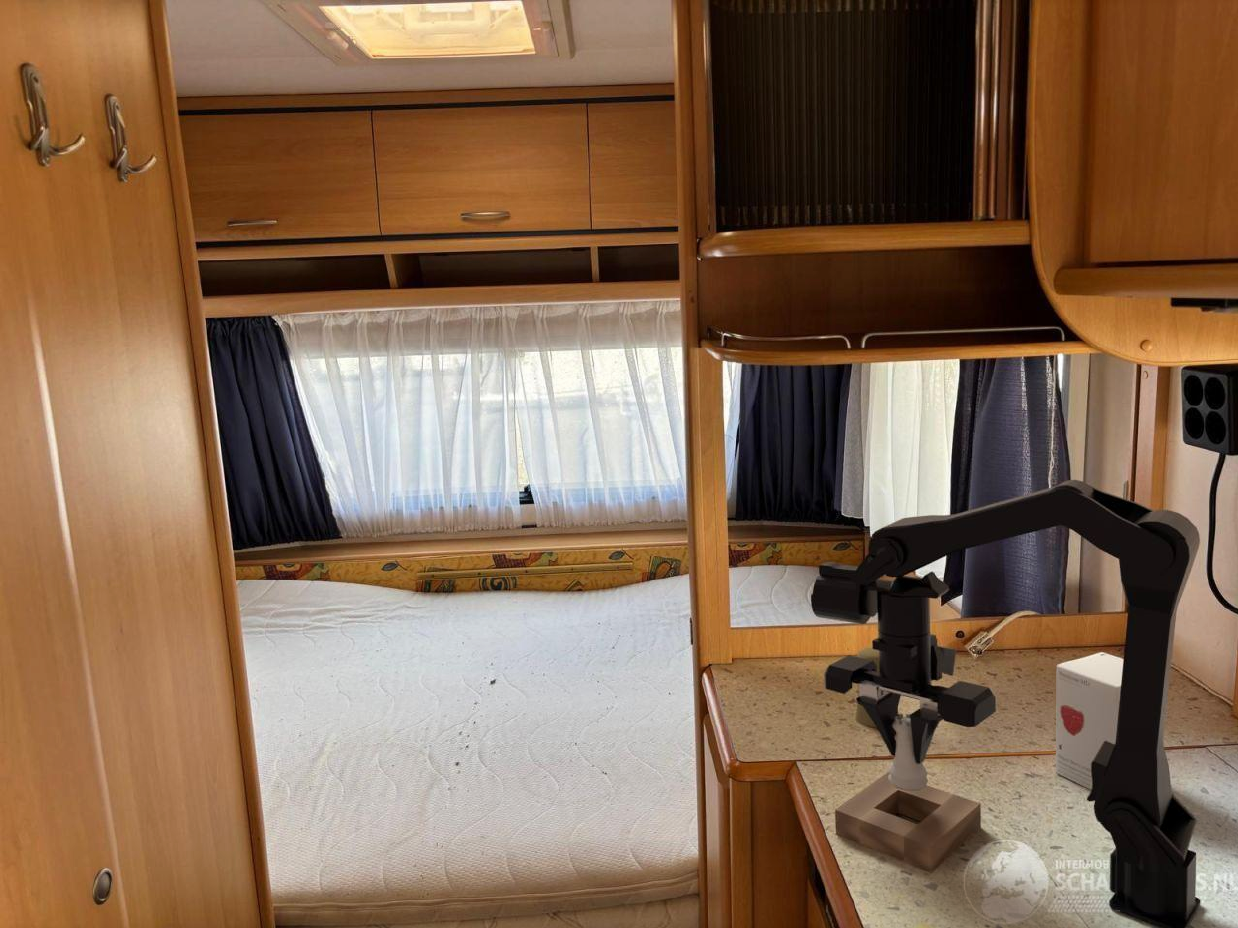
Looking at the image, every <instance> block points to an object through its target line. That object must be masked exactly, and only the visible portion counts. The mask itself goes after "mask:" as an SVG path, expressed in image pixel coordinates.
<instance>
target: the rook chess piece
mask: <svg viewBox="0 0 1238 928" xmlns="http://www.w3.org/2000/svg"><path fill="white" fill-rule="evenodd" d="M910 714H911V713H906V714H905V717H904V714H903V713H898V716H895V721H894V722H893V724H892V726H893V728H894V729H895V731H896V735H895V737H894V738H895V740H896V752H895V756H894V758H893V759H892V761H891V764H890V765H889V767H888V770H887V771H888V772H889V773H890V774H889V776H888V779H889V781H890V782H891V784H892V785H893V786H895V787H896V788H898V789H901V790H906V791H917V790H921V789H922V788H924V787H925V786H926V785H928V783H929V780H928V777H927V775H928V771H927V769H926V767H925V766H924V762H922V763H921V764H917V763H916V760H915V756H914V750H913V740H912V730H911V721H910Z"/></svg>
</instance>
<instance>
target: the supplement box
mask: <svg viewBox="0 0 1238 928" xmlns="http://www.w3.org/2000/svg"><path fill="white" fill-rule="evenodd" d="M1123 660H1124V658H1121V657H1118V656H1116V655H1112V654H1109V653H1106V652H1104V651H1103V652H1102V651H1101V652H1097V653H1094V654H1091V655H1087V656H1084V657H1081V658H1077V659H1073V660H1069V661H1064V662H1062V663H1059V664H1056V701H1055V702H1056V703H1055V704H1056V707H1055V708H1056V709H1055V710H1056V713H1055V714H1056V717H1055V718H1056V719H1055V721H1056V722H1055V723H1056V724H1055V726H1056V727H1055V728H1056V729H1055V732H1056V733H1055V774H1058V775H1059V776H1062V777H1064V778H1066V779H1068V780H1069V781H1072V782H1074V783H1076V784H1078V785H1081V786H1082V787H1084V788H1086V789H1089V790H1090V791H1091V790H1092V775H1091V763H1092V761H1093V759H1094V757H1095V756H1096V754H1097V752H1098V751H1099V749H1100V747H1101V746H1102V744H1103V742H1104V741H1107V742H1110V743H1112V744H1115V742H1116V732H1117V722H1118V712H1119V701H1120V691H1121V681H1122V670H1123ZM1164 735H1165V733H1164V734H1163V745H1164V740H1165V739H1164V737H1165V736H1164ZM1164 746H1165V745H1164Z"/></svg>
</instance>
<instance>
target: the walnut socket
mask: <svg viewBox="0 0 1238 928" xmlns="http://www.w3.org/2000/svg"><path fill="white" fill-rule="evenodd" d="M889 774H890V773H889V771H888V772H886V773H884V774H883V775H882V776H880V777H878V779H876V780H875V781H873V782H872V783H870V784H869V785H868V786H866V787H865V788H863V789H861V790H860V791H859V792H858V793H856V794H855V795H853V796H852V797H851V798H849V799H847V800H846V801H845V802H844V803H842V804H841V805H839V806H838V807H837V808H835V809H834V817H835V819H834V821H835V822H834V823H835V824H834V825H835V835H838V836H841V837H843V838H846V839H847V840H848V839H849V840H851V841H853V842H855V843H859V844H861V845H863V846H865V847H868V848H870V849H873V850H875V851H878V852H880V853H882V854H884V855H887V856H890V857H892V858H893V859H897V860H900V861H901V862H904V863H907V864H909V865H911V866H914V867H916V868H919V869H921V870H923V871H926V872H929V873H933V872H934V871H935V870H936V869H937V868H939V866H940V865H942V864H943V863H944V862H945V861H946V860H947V859H948V858H949V857H950V856H952V854H954V853H955V852H956V851H957V850H958V849H959V848H961V846H963V844H965V843H966V841H968V840H969V839H970V838H971V837H972V836H973V835H974V834H976V833H977V832H978V830H980V829H981V828H982V818H981V817H982V815H981V812H982V809H981V808H982V807H981V802H977V801H975V800H971V799H969V798H966V797H963V796H960V795H956V794H954V793H950V792H948V791H945V790H942V789H939V788H936V787H933V786H930V785H928V784H927V785H926V786H925V787H924V788H922V789H921V790H917V791H906V790H901V789H898V788H896V787H895V786H893V785H892V784H891V782H890V781H889V779H888V776H889ZM897 814H901V815H902V816H905V817H908V818H912V819H914V820H916V821H919V823H918V824H917V823H914V822H911V821H909V820H907V819H903V818H902V817H899V816H896V815H897Z"/></svg>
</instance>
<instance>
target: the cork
mask: <svg viewBox="0 0 1238 928" xmlns="http://www.w3.org/2000/svg"><path fill="white" fill-rule="evenodd" d="M856 657H860V658H864V659H868V660H872V661H874V662H875V664H876V665H877V672H879V650H875V649H873V647H872V646H870V647H864V648H862V649H860V650H858V653H857V656H856ZM859 696H860V691H859V690H858V692H857V698H858V697H859ZM855 711H856V712H855V721H856V722H858V723H859V724H861V725H863V726H866V727H870V728H876V726H875V724H874V723H873V721H872V720H871V718H870V716H869V715H868V713H867V712H866V710H865V709H864V707H863V706H862V705H860V704H857V703H856V709H855Z"/></svg>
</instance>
